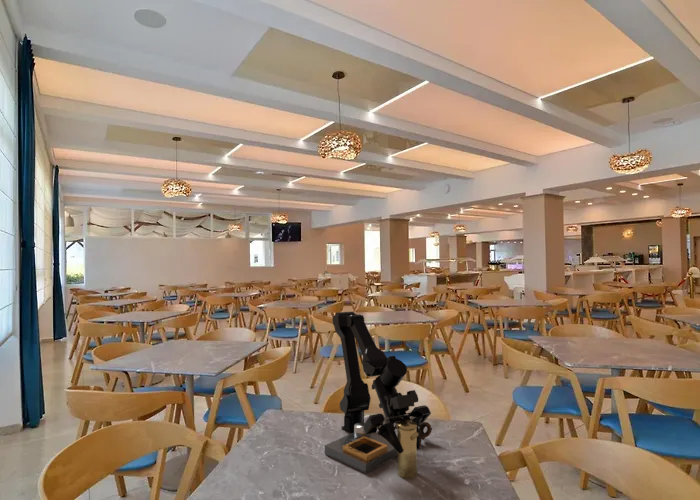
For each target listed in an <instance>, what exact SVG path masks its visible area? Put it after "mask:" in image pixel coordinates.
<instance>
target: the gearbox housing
mask: <svg viewBox="0 0 700 500" xmlns="http://www.w3.org/2000/svg"><path fill="white" fill-rule="evenodd" d="M364 424H365V421H364V422H361V423H356V424H355V425H354V433H351V432H350V434H346V435H345V436H343V437H340V438H338V439H336V440H334V441H331V442H329V443H327V444H325V445H324V455H325V456H328V457H330V458H332V459H334V460H336V461H338V462H340V463H342V464H344V465H346V466H349V467H350V468H353V469H355V470H357V471H359V472H360V473H361V472H362V473H363V474H368V473H369V472H371V471H373V470H375V469H376V468H378V467H380V466H382V465H384V464H385V463H387V462H389V461H391V460H392V459H394V458H396V457H398V451H397V450H396V449H395V448H394V447H393V446H392V445H391V444H390V443H389V442H388V441H387V440H386V439H385V438H383V437H382V436H381V435H378V434H377V433H372V434H366V433H365V430H364Z"/></svg>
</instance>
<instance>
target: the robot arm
mask: <svg viewBox="0 0 700 500" xmlns="http://www.w3.org/2000/svg"><path fill="white" fill-rule="evenodd" d="M332 325H333V327H334V331H335V333H336V334H337V336H338V337H339V338H340V342H341V347H342V348H341V349H342V354H343V363H344V369H345V375H346V377H345V378H346V383H345V386H344V388H343V397H342V398H341V400H340V402H339V408H340V409H339V410H340V411H342V412H343V413H344V416H343V425H342V426H341V427H340V428H341V429H342V430H344V431H347V432H349V433H350V434H351V433H354V425H355V424H356V423H361V422H364V423H365V424H364V430H365V433H366V434H372V433H374V434H376V435H379V436H382V437H383V438H385V439H386V440H387V441H388V442H389V443H390V444H391V445H392V446H393V447H394V448H395V449H396V450H397V451H398V452H399V453H400V454H401V453H402V448H401V445H400V443H399V440H398V438H397V433H396V429H395V430H394V426H395V424H396V423H397V422H399V421H402V420H410V421H413V422H415V423H416V424H417V428H416V432H417V433H418V436H417V450H419V449H420V448H421V445H420V443H419V423H423V422H426V420H427V419H428V418H429V417H430V415H431V414H432V413H431V409H430V408H429V406H428V405H426V404H423V405H419V406H415V403H418V402H419V396H418V394H417V392H416V390H415V389H412V390H408V391H406V394H402V393H401V392H398V389H397V386H399V385H400V383H401V381H402V380H403V379H404V377H406V375H407V372H408V368H407V365H406V364H405V363H404V362H403V361H402V360H400V359H398V358H397V357H396V355H389V356H388V357H387V355H386V354H385V352H384V351H383V350H381V349H379V348H378V347H377V345H376V343H375V341H374V339H373V337H372V335H371V332H370V330H369V329H368V326H367V325H366V323H365V317H364V315H363V314H360V313H359V314H357V313H355V312H354V311H341V312H339V311H338V312H335V315H333V316H332ZM356 342H357V343H356ZM356 344H357V345H358V348H359V350H360V352H361V355H362V359H361V366H362V370H363V372H364V374H365V375H366V376H367V377H369V378H371V377H375V379H372V384H371V390H375V392H376V396H377V397H378V401H379V404H378V407H379V409H382V410H383V413H376V414H370V415H369V416H368V417H367V419H366V420H365V411H369V409H370V403H371V394H370V389H369V385H368V383H367V382H364V380H363V379H362V375H361V369H360V363H359V362H360V361H359V356H358V351H357V349H358V348H357V345H356ZM410 407H414V408H413V409H412V410H411V411H410V412H407V411H409V410H410Z"/></svg>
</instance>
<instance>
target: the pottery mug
mask: <svg viewBox="0 0 700 500" xmlns="http://www.w3.org/2000/svg"><path fill="white" fill-rule="evenodd" d="M431 426H432V425H431V424H430V423H429V422H428V421H424V422H423V423H419V443H420V446H421V445H422V441H425V439H426V438H428V437H429V436H430V435H431V434H432V430H433V428H432V427H431ZM425 428H427V429H426V431H424V430H425ZM394 430H395V431H396V430H397V423H394Z"/></svg>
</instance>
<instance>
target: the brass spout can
mask: <svg viewBox="0 0 700 500" xmlns="http://www.w3.org/2000/svg"><path fill="white" fill-rule="evenodd" d="M416 428H417V424H416V423H415V422H413V421H410V420H402V421H399V422H397V429H396V431H397V433H396V435H397V438H398V440H399V443H400V445H401V448H402V453H401V454H400V453H399V452H398V456H397V475H398V476H399V477H400V478H402V479H405V480H412V479H415V478H416V477H417V476H418V465H417V464H418V459H417V458H418V457H417V456H418V453H417V451H418V449H417V436H418V433H417V432H416Z"/></svg>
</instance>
